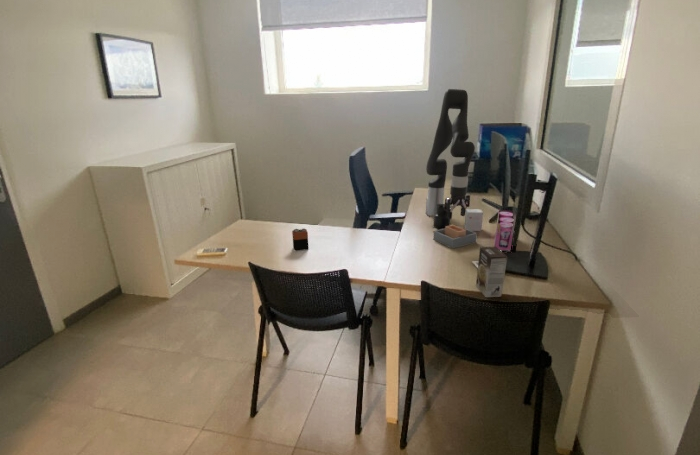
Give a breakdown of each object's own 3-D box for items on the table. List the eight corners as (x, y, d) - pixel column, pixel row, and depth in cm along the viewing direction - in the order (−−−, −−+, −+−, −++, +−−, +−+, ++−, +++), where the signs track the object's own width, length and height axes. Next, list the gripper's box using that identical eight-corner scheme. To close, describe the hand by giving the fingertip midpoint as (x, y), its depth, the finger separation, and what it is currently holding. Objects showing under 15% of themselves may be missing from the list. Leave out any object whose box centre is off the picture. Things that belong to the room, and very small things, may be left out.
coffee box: (475, 285, 145) (479, 246, 139) (491, 284, 145) (496, 245, 140) (485, 297, 136) (490, 256, 131) (502, 296, 137) (508, 256, 131)
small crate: (444, 237, 190) (445, 226, 188) (451, 235, 192) (452, 224, 190) (457, 243, 183) (458, 232, 181) (464, 241, 185) (466, 230, 183)
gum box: (511, 254, 171) (515, 226, 167) (493, 252, 174) (496, 224, 170) (511, 236, 192) (515, 211, 188) (495, 234, 195) (498, 209, 190)
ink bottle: (448, 223, 211) (450, 203, 207) (452, 229, 203) (454, 207, 199) (431, 223, 212) (432, 203, 208) (433, 229, 203) (435, 208, 199)
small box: (479, 227, 205) (481, 209, 201) (481, 231, 200) (483, 212, 196) (463, 227, 206) (465, 208, 202) (465, 231, 200) (467, 212, 197)
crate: (433, 239, 190) (433, 231, 188) (456, 233, 197) (456, 225, 195) (452, 248, 179) (453, 239, 177) (475, 242, 186) (476, 233, 184)
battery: (293, 247, 182) (291, 228, 179) (307, 246, 184) (306, 226, 180) (294, 251, 178) (293, 231, 175) (308, 249, 180) (307, 229, 176)
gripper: (464, 181, 184) (461, 212, 190) (442, 185, 178) (439, 217, 183) (476, 184, 178) (472, 217, 184) (453, 188, 172) (450, 222, 177)
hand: (456, 217), depth 184 cm, fingers open, 8 cm apart
